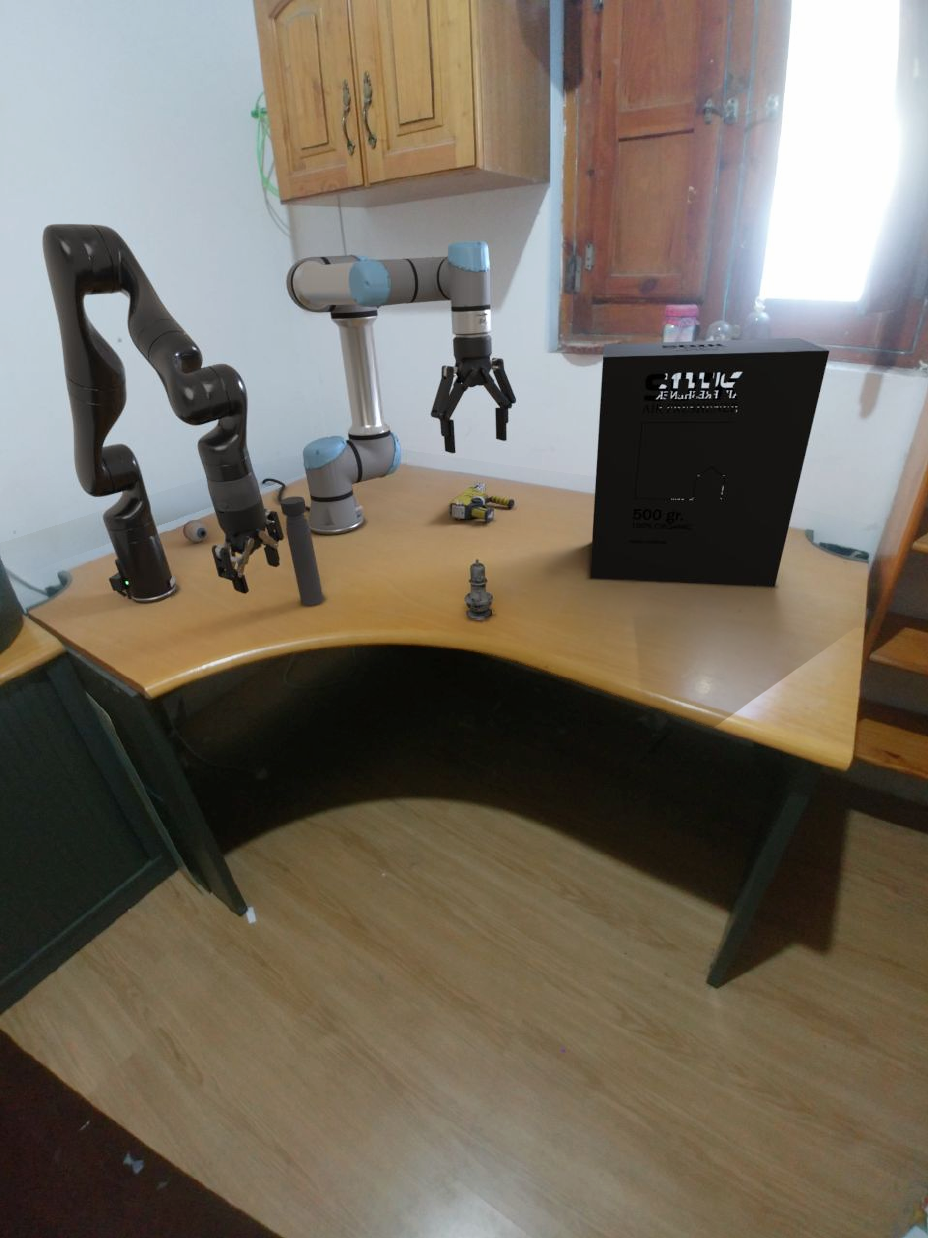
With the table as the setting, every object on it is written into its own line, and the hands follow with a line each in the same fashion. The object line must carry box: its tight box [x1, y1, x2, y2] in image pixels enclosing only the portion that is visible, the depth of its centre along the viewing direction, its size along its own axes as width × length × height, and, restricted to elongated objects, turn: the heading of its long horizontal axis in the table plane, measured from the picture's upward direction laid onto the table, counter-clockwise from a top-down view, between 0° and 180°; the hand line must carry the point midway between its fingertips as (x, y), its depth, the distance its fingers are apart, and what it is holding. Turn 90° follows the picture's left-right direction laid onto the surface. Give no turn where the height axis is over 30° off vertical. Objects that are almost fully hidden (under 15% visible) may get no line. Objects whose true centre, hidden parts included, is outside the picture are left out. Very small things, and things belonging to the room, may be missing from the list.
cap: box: [279, 495, 307, 517], centre depth 120 cm, size 5×5×2 cm
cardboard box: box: [589, 337, 830, 587], centre depth 126 cm, size 38×20×45 cm, turn 78°
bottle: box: [285, 513, 324, 607], centre depth 125 cm, size 5×5×22 cm
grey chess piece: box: [463, 559, 494, 621], centre depth 118 cm, size 6×6×12 cm
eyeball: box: [182, 519, 208, 544], centre depth 162 cm, size 6×6×6 cm
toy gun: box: [448, 481, 515, 523], centre depth 173 cm, size 5×24×15 cm
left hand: (258, 578), depth 107 cm, fingers open, 8 cm apart
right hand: (476, 445), depth 127 cm, fingers open, 13 cm apart
